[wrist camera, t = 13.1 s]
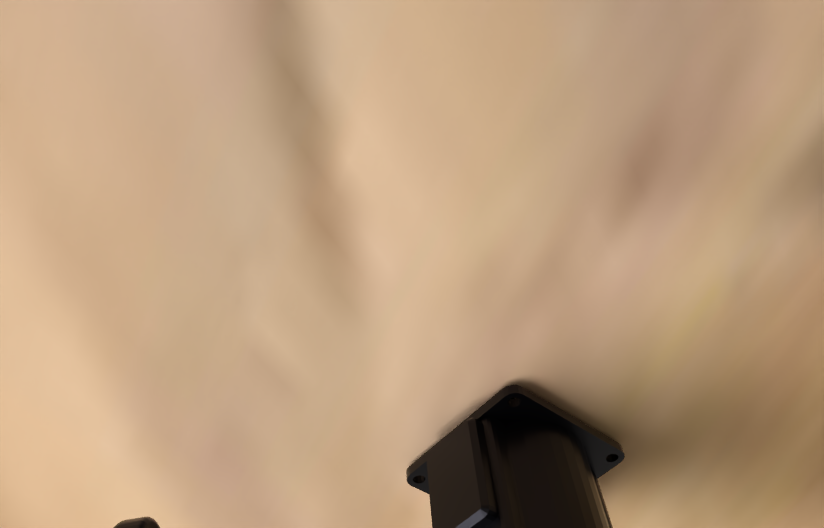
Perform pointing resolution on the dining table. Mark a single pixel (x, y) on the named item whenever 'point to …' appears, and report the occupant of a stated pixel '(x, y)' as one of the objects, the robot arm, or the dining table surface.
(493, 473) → the robot arm
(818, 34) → the dining table surface
